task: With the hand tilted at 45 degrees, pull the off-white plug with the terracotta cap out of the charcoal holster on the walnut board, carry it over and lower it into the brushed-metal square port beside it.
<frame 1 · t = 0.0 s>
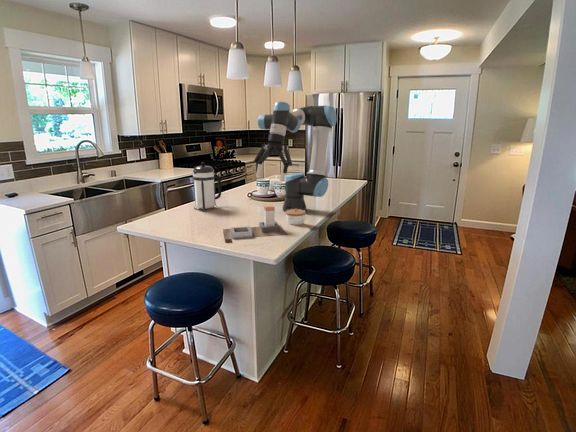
hand: (269, 178, 160), 28 cm above the countertop, tool tilted 20°, fingers open, 13 cm apart
port: (241, 237, 162), resting on walnut board
coffee press: (207, 208, 218), on the countertop
plug: (269, 228, 171), point 1 cm above the countertop, touching walnut board
walnut board: (254, 234, 167), on the countertop
holster: (269, 231, 171), resting on walnut board
lidded jar: (295, 225, 183), on the countertop
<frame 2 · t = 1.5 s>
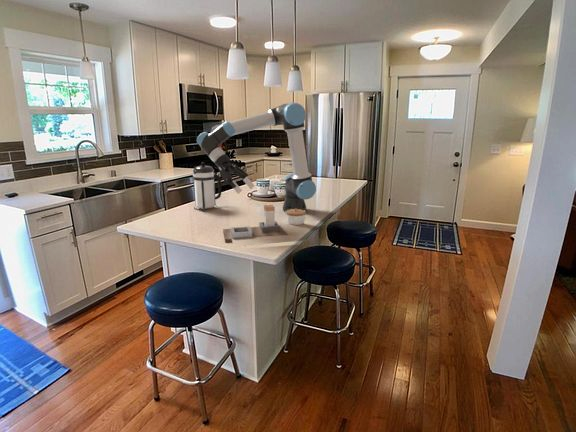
hand: (246, 189, 171), 21 cm above the countertop, tool tilted 45°, fingers open, 13 cm apart
nothing on the countertop moved.
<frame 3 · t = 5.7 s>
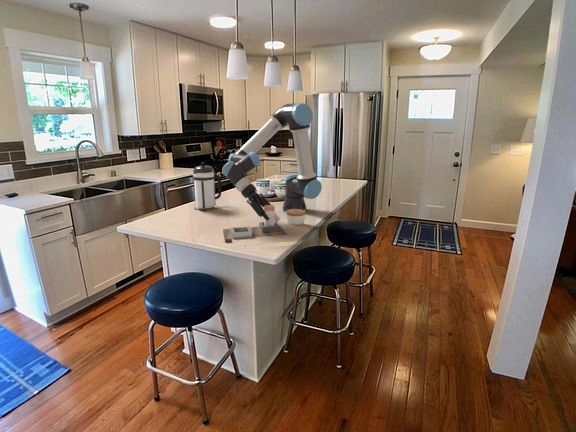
hand: (275, 222, 169), 5 cm above the countertop, tool tilted 45°, fingers closed on plug, 6 cm apart
plug: (269, 228, 171), point 2 cm above the countertop, touching gripper, walnut board
everything else where it was.
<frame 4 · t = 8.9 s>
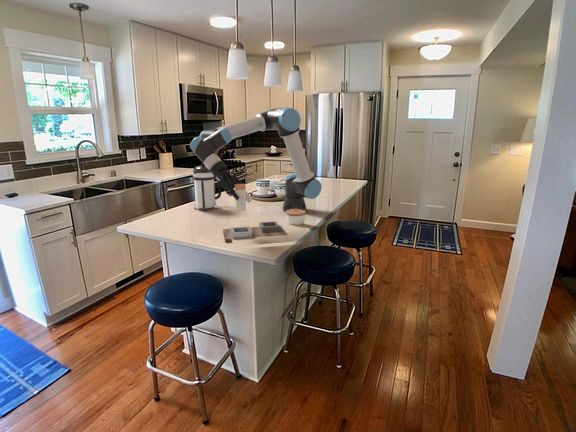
hand: (247, 202, 156), 18 cm above the countertop, tool tilted 45°, fingers closed on plug, 6 cm apart
plug: (240, 209, 159), point 14 cm above the countertop, touching gripper
everything else where it was.
when the fingers open (6 cm above the countertop, at t = 11.9 s): plug stays where it is, resting on walnut board.
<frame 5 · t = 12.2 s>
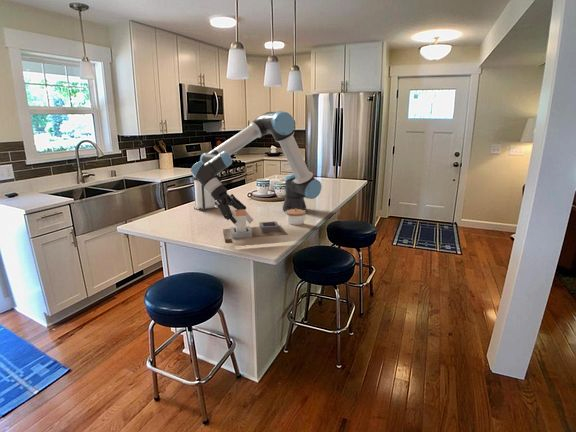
hand: (246, 224, 159), 7 cm above the countertop, tool tilted 45°, fingers open, 10 cm apart
plug: (241, 234, 162), point 1 cm above the countertop, touching walnut board
everything else where it was.
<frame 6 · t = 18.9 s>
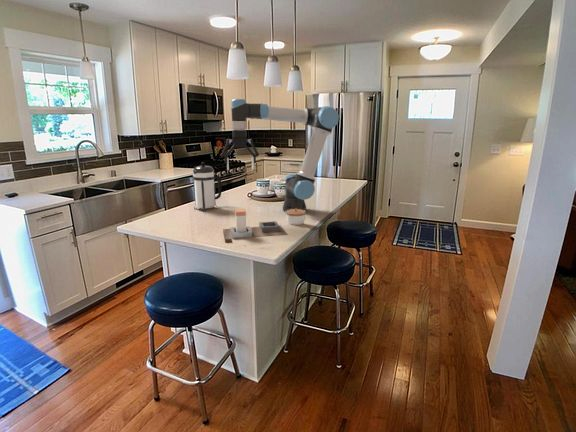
hand: (240, 169, 184), 29 cm above the countertop, tool pointing down, fingers open, 13 cm apart
nothing on the countertop moved.
at the end: plug 0.0 cm off-centre on the port, point 1.5 cm above the port's base; plug tilted 0°; the gripper is holding nothing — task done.
